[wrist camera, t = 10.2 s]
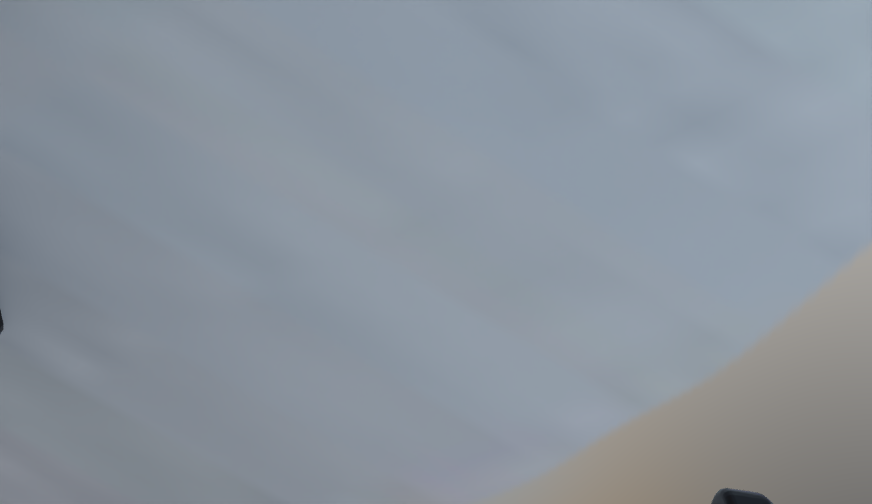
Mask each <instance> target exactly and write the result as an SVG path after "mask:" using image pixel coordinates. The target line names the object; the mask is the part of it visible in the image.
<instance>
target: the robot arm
mask: <svg viewBox="0 0 872 504" xmlns="http://www.w3.org/2000/svg"><path fill="white" fill-rule="evenodd" d="M2 331H3V320H2V316H1V311H0V334H1V332H2ZM711 504H773V503H772V502H771V501H770V500H769V499H768V498H767V497H765V496H764V495H762V494H760V493H756V492H750V491H743V490H735V489H728V488H725V489H721V490H719V491H718V492H717V493H716V495H715V496H714V499H713V501H712V503H711Z"/></svg>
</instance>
